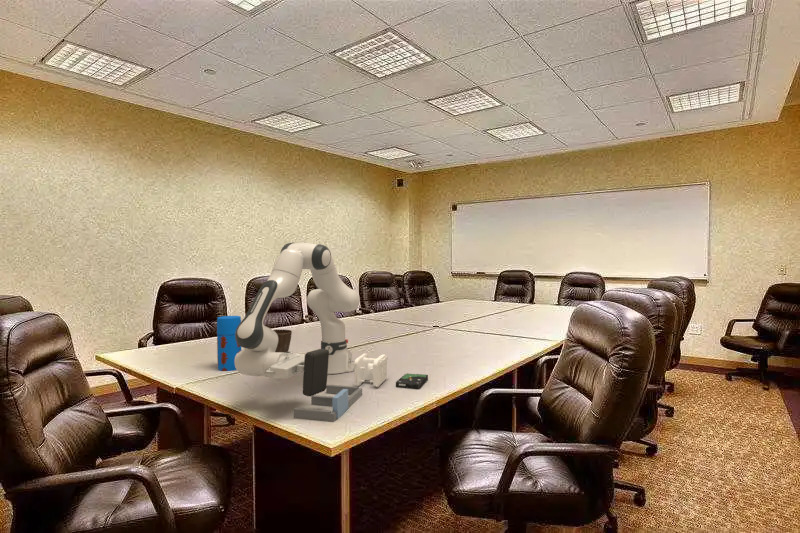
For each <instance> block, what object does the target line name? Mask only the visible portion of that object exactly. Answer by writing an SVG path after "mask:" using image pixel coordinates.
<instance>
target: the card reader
mask: <svg viewBox="0 0 800 533" xmlns="http://www.w3.org/2000/svg"><path fill="white" fill-rule="evenodd" d="M304 354H305V360H304V372H303V375H302V376H303V380H302V394H303V396H306V397H311V396H313V395H317V394H318V395H319V394H320V393H322V392H325V391H326V385H328V384H327V383H328V374H327V373H328V359H329V351H328V350H326V349H321V348H318V349H315V350H314V349H313V350H311V351H307V352H306V353H304Z"/></svg>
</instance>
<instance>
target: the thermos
mask: <svg viewBox="0 0 800 533" xmlns="http://www.w3.org/2000/svg"><path fill="white" fill-rule="evenodd" d="M241 321H242V318H241V316H240V315H223V316H218V317H217V319H216V338H217V339H216V341H217V344H216V345H217V347H216V348H217V349H216V350H217V352H216V353H217V354H216V355H217V370H218V371H220V372H232V371H237V369H236V367H235V363H234V361H235V356H236V354H237V353H239V352H240V351H241V350H242V347H241V346H239V345H238V344H237V342H236V339H235V332H236V329H237V327H238V325H239V324H240V323H241Z"/></svg>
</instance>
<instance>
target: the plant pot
mask: <svg viewBox="0 0 800 533" xmlns="http://www.w3.org/2000/svg"><path fill="white" fill-rule="evenodd" d="M273 330H274V331H275V332H276V333H277V335H278V338H279V341H278V345H277V348H276V351H275V352H289V349H290V344H291V340H292V333H293V331H292V330H290V329H273Z"/></svg>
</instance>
